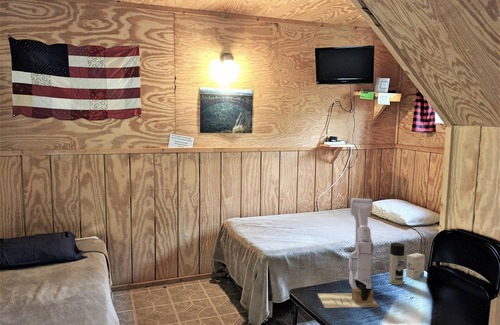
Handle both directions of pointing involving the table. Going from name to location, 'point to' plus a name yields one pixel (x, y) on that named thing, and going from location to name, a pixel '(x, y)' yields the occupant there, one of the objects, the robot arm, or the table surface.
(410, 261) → the ink box
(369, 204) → the robot arm
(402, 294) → the table surface
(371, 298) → the block
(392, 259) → the spray can
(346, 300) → the board
